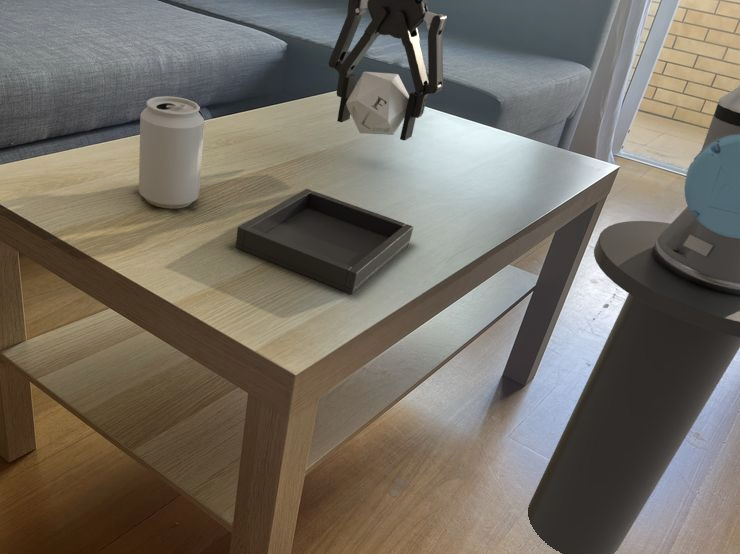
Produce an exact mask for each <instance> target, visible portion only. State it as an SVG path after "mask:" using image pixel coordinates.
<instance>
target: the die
mask: <svg viewBox="0 0 740 554" xmlns="http://www.w3.org/2000/svg"><path fill="white" fill-rule="evenodd" d="M408 99H409V93H408V91H407V89H406V87H405V85H404V83H403V81H402V79H401V77H400V75H399V74H398V73H389V72H376V71H375V72H374V71H363V72H362V73H361V76H360V78H359V79H358V80H357V82H356V84H355V88H354V90H353V91H352V93H351V95H350V97H349V98H348V100H347V102H346V106H347V108H348V110H349V112H350V117H351V118H352V120H353V122H354V124H355V126H356V128H357V130H358V133H359V134H369V135H370V134H371V135H386V136H387V135H388V136H394V135H395V133H396V132H397V130H398V129H399V127H400V126H401V124H402V122H404V118H405V113H406V108H407V104H408Z"/></svg>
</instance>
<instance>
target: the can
mask: <svg viewBox="0 0 740 554" xmlns="http://www.w3.org/2000/svg"><path fill="white" fill-rule="evenodd" d="M145 105H146V107H145V108H143V110H142V111H141V113H140V116H139V117H140V118H139V157H138V158H139V159H138V161H139V163H138V164H139V165H138V192H139V194H140V195H141V196H142V197H143V198H144V199H145V201H146V202H147V203H149V204H150V205H153V206H155V207H159V208H161V209H162V208H163V209H170V210H171V209H181V208H186V207H188V206H190V205H191V204H192V203H193V202H195V201H196V200H198V198H199V197H200V187H201V175H202V173H201V171H202V159H203V145H204V144H203V143H204V131H205V129H204V128H205V118H204V117H203V116H202V114H201V113H200V112H199V111H200V110H201V106H200V105H199V104H198V103H196V102H195V101H193V100H190V99H188V98H184V97H178V96H169V95H167V96H166V95H165V96H164V95H163V96H155V97H154V96H153V97H150V98H149V99H147V101H146V103H145Z"/></svg>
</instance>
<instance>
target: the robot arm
mask: <svg viewBox="0 0 740 554" xmlns="http://www.w3.org/2000/svg"><path fill="white" fill-rule="evenodd" d="M427 3H428V0H348V3H347V15H346V18H345V20H344V23H343V25H342V27H341V30H340V33H339V35H338V37H337V40H336V43H335V45H334V47H333V50H332V53H331V55H330V58H329V61H328V66H329V68H331V69H334V70H335V71H337V72H338V81H337V87H336V96H337V97H339V98H340V101H339V102H340V103H339V108H338V114H337V120H336V121H337V122H339V123H344V122H346V121H348V120H350V119H351V114H350V112H349V110H348V108H347V106H346V102H347V100H348V98H349V97H350V95H351V93H352V91H353V90H354V88H355V86H356V84H357V79H358V78H357V77H358V74H355V73H353V72H355V68H356V67H357V66H358V64H359V63H360V62H361V60H362V59H363V58H364V56H365V55H366V53H367V52H368V51H369V49H370V48H371V46H372V45H373V44H374V42H375V41H376V40H377V38H378V37H379V36H380V35H382V36H391V37H392V38H394V39H398V40H401V44H402V46H403V47H404V50H405V55H406V58H407V63H408V66H409V71H410V75H411V79H412V83H413V87H414V90H415V91H413V92H410V93H408V95H409V99H408V104H407V108H406V113H405V118H404V119H403V121H402V122H403V123H402V128H401V132H400V137H399V140H401V141H407V140H409V139H410V138H412V137H413V132H414V128H415V124H416V119H419V118H421V117H422V116H423V114H424V112H425V107H426V103H427V98H428V95H429V94H433V95H434V94H436V93H438V92H440V91H442V90H443V88H444V45H443V43H444V42H443V40H444V36H443V33H444V31H445V27H446V23H447V19H448V18H447V15H446V14H445V13H440V14H439V13H435V12H431V11H429V9H428V4H427ZM367 10H368V11H369V12H368V13H369V15H370V18H371V21H370V22H369V24H368V25H367V26H366V28H365V29H364V33H363V34H362V35H361V37H360V38H359V39H358V41H357V43H356V44H355V45H354V46H353V48H352V50H351V51H350V52H349V49H350V47H351V45H352V43H353V40H354V37H355V35H356V32H357V30H358V27H359V25H360V23H361V20H362V17H363V15H364V14H365V13H366V11H367ZM423 22H425V24H426V26H425V28H426V30H427V31H428V32H427V34H428V35H427V69H426V66H425V61H424V57H423V53H422V47H421V44H420V40H421V38H420V34H419V29H418V27H419V26H420V25H421V24H422V23H423ZM348 52H349V54H348ZM347 54H348V56H347ZM427 72H428V74H427ZM712 116H713V117H712V119H711V122H710V124H709V128H708V130H707V133H706V135H705V138H704V142H703V144H702V147H701V150H700V151H699V153H697V155H696V156H695V157H694V158H693V161H692V162H690V164H689V166H688V168H687V171H686V176H685V180H684V199H685V202H686V205H687V206H686V208H684V209H683V210H682V211H681V213H680V214H679V215H678V216H677V217H676V218H675V219H673V221H672V222H671V223H670V225H669V226H668V227H667V228H666V230H665V231H664V232H663V233H662V234H661V235H660V236H659V237H658V239H657V241H656V243H655V245H654V247H653V249H652V254H653V257H654V258H655V260H656V261H657V262H658V263H659V264H660V265H661V266H662V267H663V268H665V269H666V270H668V271H669V272H671V273H672V274H674V275H676V276H677V277H679V278H681V279H683V280H685V281H687V282H690V283H692V284H694V285H697V286H699V287H702V288H705V289H708V290H711V291H715V292H718V293H722V294H727V295H732V296H739V297H740V84H739V85H738V86H737V87H735V88H734V89H732V90H731V91H729V92H728V93H726V94H724V95H723V96H721V97H720V98H719V99H718V102H717V104H716V107H715V110H714V113H713V115H712Z"/></svg>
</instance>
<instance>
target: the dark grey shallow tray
mask: <svg viewBox="0 0 740 554" xmlns="http://www.w3.org/2000/svg"><path fill="white" fill-rule="evenodd" d="M413 231H414V226H413V225H410V224H409V223H405V222H403V221H400V220H397V219H394V218H391V217H388V216H386V215H382V214H380V213H377V212H374V211H371V210H368V209H365V208H363V207H360V206H357V205H354V204H351V203H348V202H346V201H343V200H341V199H337V198H334V197H332V196H329V195H326V194H323V193H320V192H317V191H315V190H311V189H310V188H309V189H308V188H305V189H303V190H302V191H299V192H298V193H296V194H294V195H292V196H291V197H289V198H287V199H285V200H284V201H282V202H280V203H278V204H277V205H275V206H273V207H271V208H269V209H267V210H266V211H264V212H262V213H260V214H259V215H257V216H255V217H253V218H252V219H250V220H248V221H245V222H244V223H242V224H240V225H238V226H237V231H236V240H235V248H236V249H238V250H240V251H243V252H245V253H248V254H251V255H253V256H255V257H258V258H260V259H262V260H266V261H268V262H271V263H273V264H275V265H277V266H280V267H283V268H285V269H288V270H290V271H293V272H295V273H297V274H299V275H303V276H305V277H308V278H310V279H312V280H315V281H317V282H320V283H322V284H325V285H327V286H330V287H332V288H335V289H338V290H339V291H342V292H344V293H347V294H349V295H353V294H354V293H356V292H357V291H358V290H359V289H360V288H361V287H363V286H364V285H365V284H366V283H367V282H368V281H369V280H371V279H372V278H373V277H374V276H375V275H376V274H378V272H380V270H382V269H384V267H385V266H387V265H388V264H389V263H390V262H391V261H393V259H395V258H396V257H397V256H398V255H399V254H400V253H402V252H403V251H404V250H405V249H406V248H407V247H408V246H409V245H410V241H411V237H412V234H413Z"/></svg>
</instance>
